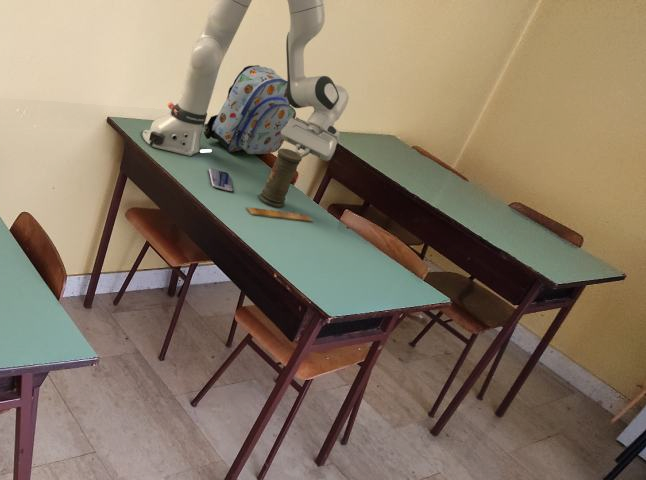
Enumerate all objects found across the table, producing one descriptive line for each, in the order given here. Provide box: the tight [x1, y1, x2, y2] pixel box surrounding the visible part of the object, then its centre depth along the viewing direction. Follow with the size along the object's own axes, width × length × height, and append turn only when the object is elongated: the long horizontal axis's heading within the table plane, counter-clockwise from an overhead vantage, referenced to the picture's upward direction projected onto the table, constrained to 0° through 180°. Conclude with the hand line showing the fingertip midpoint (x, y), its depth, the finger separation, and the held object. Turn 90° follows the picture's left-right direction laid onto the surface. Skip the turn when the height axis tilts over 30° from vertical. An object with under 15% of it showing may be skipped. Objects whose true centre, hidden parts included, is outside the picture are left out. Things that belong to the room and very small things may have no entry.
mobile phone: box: [208, 168, 234, 192], centre depth 216 cm, size 8×1×15 cm
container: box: [259, 147, 303, 208], centre depth 211 cm, size 9×9×18 cm
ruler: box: [247, 207, 313, 223], centre depth 208 cm, size 24×4×1 cm, turn 110°
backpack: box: [203, 64, 297, 155], centre depth 242 cm, size 33×25×31 cm
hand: (296, 157), depth 215 cm, fingers closed
